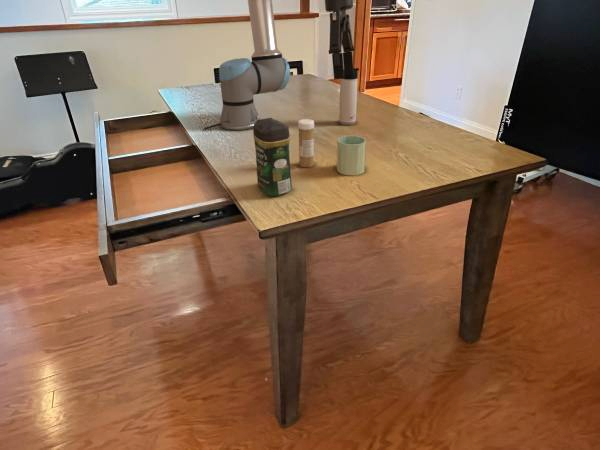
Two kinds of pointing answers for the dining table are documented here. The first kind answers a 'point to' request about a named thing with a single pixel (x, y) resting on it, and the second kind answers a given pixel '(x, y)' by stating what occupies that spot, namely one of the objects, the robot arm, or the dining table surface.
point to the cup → (351, 155)
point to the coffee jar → (272, 156)
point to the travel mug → (348, 98)
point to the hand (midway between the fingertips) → (344, 77)
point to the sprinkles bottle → (306, 142)
